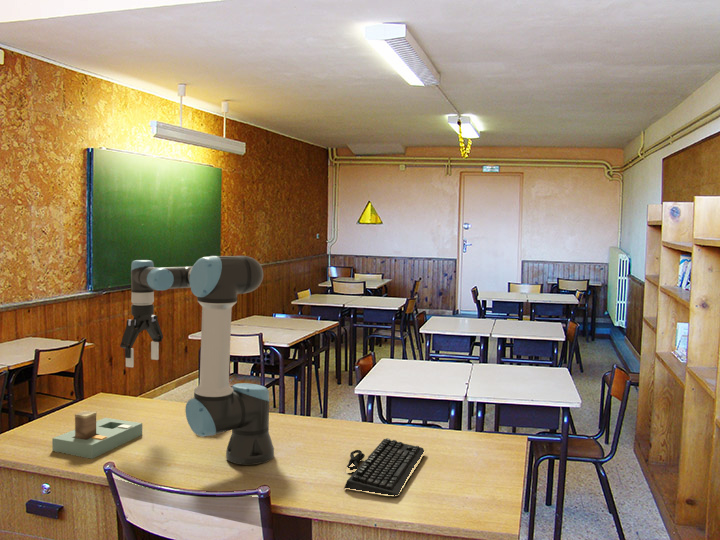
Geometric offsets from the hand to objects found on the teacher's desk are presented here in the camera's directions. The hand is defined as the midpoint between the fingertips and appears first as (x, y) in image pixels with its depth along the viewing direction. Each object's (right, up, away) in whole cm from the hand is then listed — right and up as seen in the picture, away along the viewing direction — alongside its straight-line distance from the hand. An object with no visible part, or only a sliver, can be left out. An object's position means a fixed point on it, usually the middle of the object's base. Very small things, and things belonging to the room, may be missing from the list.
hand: (142, 363), depth 223 cm
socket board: (-11, -25, -12) cm, 30 cm away
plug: (-13, -25, -17) cm, 33 cm away
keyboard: (+83, -29, -29) cm, 93 cm away
